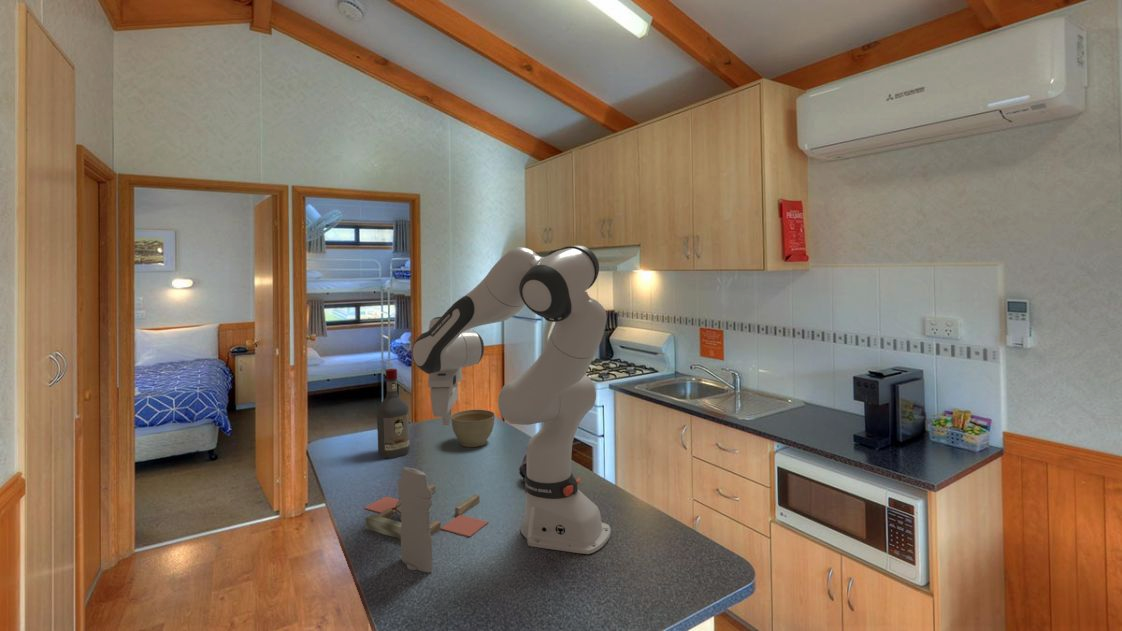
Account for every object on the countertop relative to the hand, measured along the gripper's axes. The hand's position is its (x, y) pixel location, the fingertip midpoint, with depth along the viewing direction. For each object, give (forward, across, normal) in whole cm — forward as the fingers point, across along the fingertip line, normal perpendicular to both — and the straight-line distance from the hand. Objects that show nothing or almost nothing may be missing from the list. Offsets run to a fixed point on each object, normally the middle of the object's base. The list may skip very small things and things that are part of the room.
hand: (446, 423), depth 146 cm
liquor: (+22, -40, -26) cm, 52 cm away
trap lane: (+22, +8, -5) cm, 24 cm away
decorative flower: (+23, -12, +27) cm, 37 cm away
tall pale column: (+23, +31, -2) cm, 39 cm away
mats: (+22, +8, -5) cm, 24 cm away
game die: (+23, +11, -8) cm, 27 cm away
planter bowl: (+22, -49, +1) cm, 54 cm away
